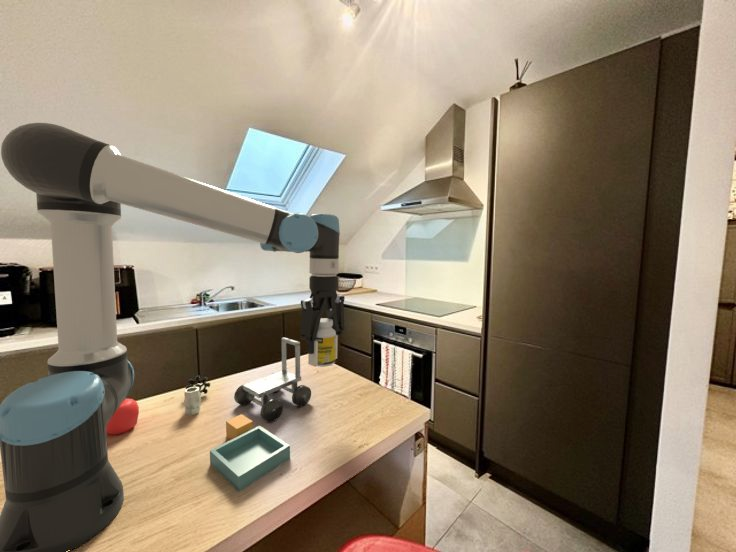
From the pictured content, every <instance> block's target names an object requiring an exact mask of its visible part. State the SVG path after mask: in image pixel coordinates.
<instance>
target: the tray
mask: <svg viewBox="0 0 736 552" xmlns="http://www.w3.org/2000/svg"><path fill="white" fill-rule="evenodd" d="M290 459H291V445H290V444H289V443H287V442H285V441H284V440H282V439H281V438H280V437H278V436H276V435H275V434H273V433H271V432H270V431H269V430H267V429H266V428H264V427H262V426H261V425H258V426H256V427H253V429H252V430H250V431H248V432H246V433H244V434H242V435H240V436H238V437H236V438H234V439H232V440H230V439H229V440H228V441H226V442H224V443H222V444H220V445H218V446H216V447H214V448H213V449H211V450H209V463H210V464H209V465H211V466H212V467H213V468H214V469H215V470H216V471H217V472H218V473H219V474H220V475H221V476H222V477H223V478H224V479H225V480H226V481H227V482H228V483H229V484H230V485H231V486H233V488H235V490H237V491H238V492H241V491H242V490H244V489H246V488H247V487H249V486H250V485H252V484H254V483H255V482H256V481H258V480H260V479H261V478H263V477H264V476H265V475H267V474H269V473H270V472H272V471H273V470H275V469H276V468H277V467H279V466H281V465H282V464H284V463H285V462H287V461H289V460H290Z"/></svg>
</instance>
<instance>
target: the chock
mask: <svg viewBox="0 0 736 552" xmlns="http://www.w3.org/2000/svg"><path fill="white" fill-rule="evenodd" d="M253 422H254V421H253V420H252V419H250V418H248V417H247V416H246V415H244V414H242V413H240V414H239V415H237V416H234V417H232V418H230V419H227V420H226V421H225V431H226V435H225V437H226V438H228V439H229V441H230V440H232V439H234V438H236V437H238V436H240V435H242V434H244V433H246V432H248V431H250V430H252V429H254V423H253Z"/></svg>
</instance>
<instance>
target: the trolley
mask: <svg viewBox="0 0 736 552" xmlns="http://www.w3.org/2000/svg"><path fill="white" fill-rule="evenodd" d="M287 344H288V345H292V346H294V352H295V353H294V356H295V359H294V360H295V361H294V363H295V367H294V368H295V369H294V370H295V373H294V372H291V371H290V370H287V369H288V368H287V363H288V361H287ZM301 381H302V376H301V342H300V341H298V340H294V339H291V338H288V337H285V336H284V337H281V370H280V371H277V372H275V373H271V374H270V375H266V376H264V377H261V378H258V379H256V380H253V381H250V382H248V383H244V384H241V385H240V386H238V388H237V389H236V390H235V392H234V396H233V398H234V401H235V402H236V403H237V404H239V406H243V407H244V406H248V405H250V404H251V403H252V402H253V403H255V404H257V405H258V406H260V407H261V409H260V412H259V413H260V417H261V419H262V420H264V421H266V422H268V423H273V422H275V421H277V420H278V419H279V418H280V417H281V415H282V413H283V409H284V405H283V402H282V401H281V400H280V399H277V398H275V397H271V398H269V396H268V395H270V394H276V393H278V392H280V391H281V389H282V390H284V391H287V392H289V393H291V394H292V396H291V401H292V404H293V405H295V406H298V407H300V408H302V407H305V406H306V405H307V404H308V403H309V402H310V400H311V397H312V390H311V388H310V387H309V386H306V385H304V384H300V385H298V383H299V382H301ZM289 386H291V387H289ZM256 397H257V398H258V399H257V398H256ZM259 399H260V400H259Z"/></svg>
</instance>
